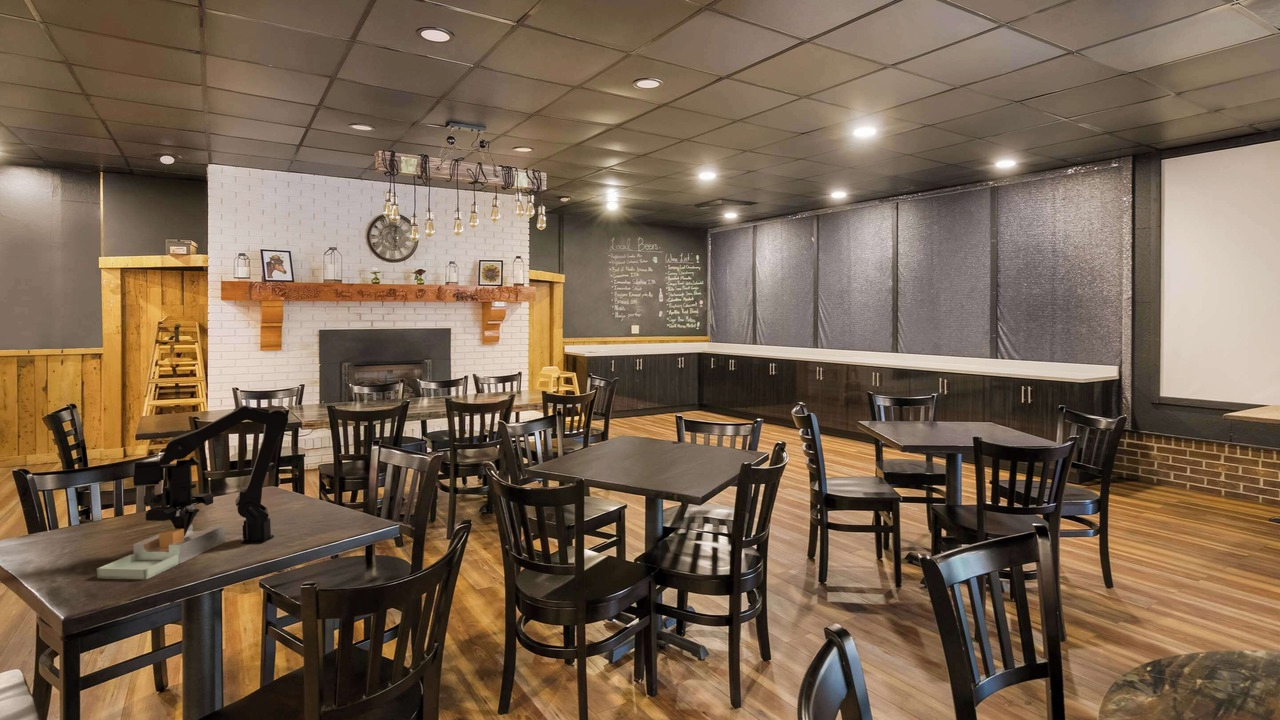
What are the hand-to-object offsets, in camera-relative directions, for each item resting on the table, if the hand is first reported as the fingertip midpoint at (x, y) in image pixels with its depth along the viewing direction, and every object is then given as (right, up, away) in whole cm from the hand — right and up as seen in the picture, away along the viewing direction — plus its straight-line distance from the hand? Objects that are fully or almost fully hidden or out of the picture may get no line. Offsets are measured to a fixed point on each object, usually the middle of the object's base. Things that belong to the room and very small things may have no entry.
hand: (181, 536), depth 191 cm
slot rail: (0, -4, 0) cm, 4 cm away
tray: (-1, -5, -15) cm, 16 cm away
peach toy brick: (0, -1, -4) cm, 4 cm away
